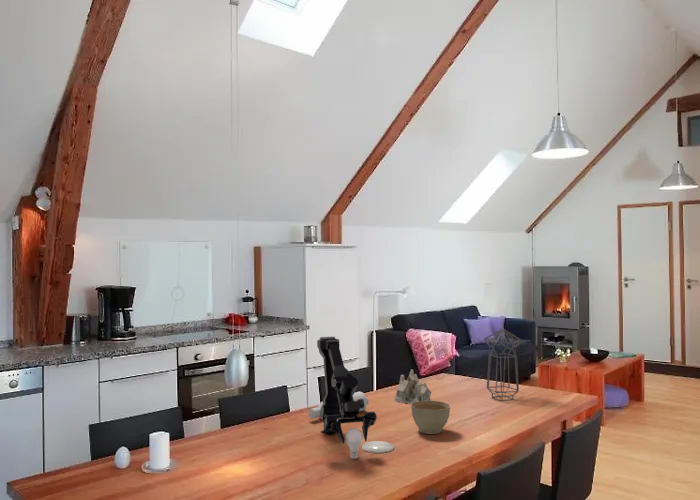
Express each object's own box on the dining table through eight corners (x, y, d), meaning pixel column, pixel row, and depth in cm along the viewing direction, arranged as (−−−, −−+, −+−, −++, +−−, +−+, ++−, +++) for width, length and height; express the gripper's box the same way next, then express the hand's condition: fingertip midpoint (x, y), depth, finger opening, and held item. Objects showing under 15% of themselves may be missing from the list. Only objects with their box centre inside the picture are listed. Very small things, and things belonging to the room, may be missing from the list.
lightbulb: (347, 462, 213) (347, 431, 213) (343, 457, 219) (343, 426, 219) (365, 461, 214) (364, 430, 214) (360, 455, 220) (359, 425, 221)
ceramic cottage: (390, 399, 305) (392, 369, 304) (418, 396, 312) (419, 367, 311) (406, 408, 291) (408, 377, 290) (434, 405, 298) (436, 375, 297)
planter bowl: (449, 438, 240) (449, 410, 240) (409, 435, 243) (409, 408, 244) (451, 426, 256) (451, 400, 256) (413, 424, 259) (412, 399, 259)
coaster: (355, 447, 229) (355, 446, 229) (377, 440, 237) (377, 439, 237) (377, 455, 220) (377, 453, 220) (400, 447, 228) (400, 446, 228)
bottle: (355, 400, 289) (303, 413, 270) (361, 386, 285) (309, 398, 266) (365, 414, 283) (313, 428, 264) (372, 400, 279) (320, 413, 260)
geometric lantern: (481, 396, 310) (481, 328, 310) (508, 394, 314) (508, 327, 315) (497, 403, 295) (497, 331, 295) (525, 401, 299) (525, 330, 300)
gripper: (325, 393, 218) (333, 432, 207) (375, 389, 223) (384, 427, 212) (321, 409, 226) (328, 448, 215) (368, 405, 231) (378, 443, 220)
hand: (355, 441), depth 215 cm, fingers open, 8 cm apart
